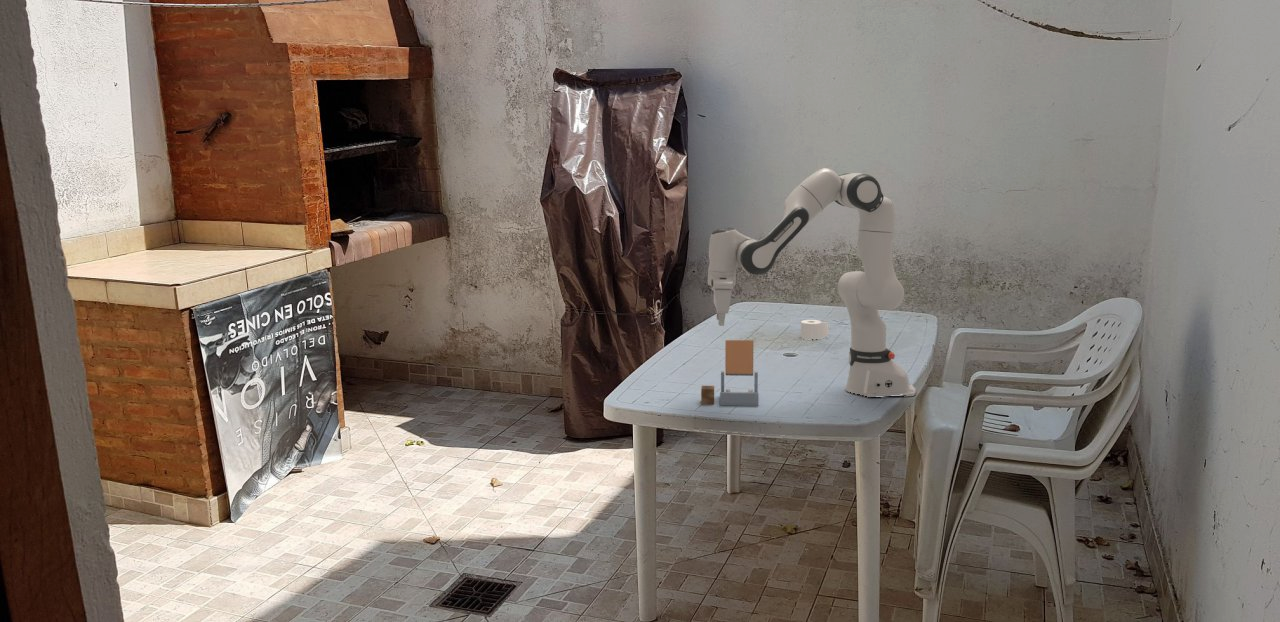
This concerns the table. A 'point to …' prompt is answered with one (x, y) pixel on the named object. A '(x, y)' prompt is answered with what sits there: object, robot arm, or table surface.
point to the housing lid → (739, 357)
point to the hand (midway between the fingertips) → (720, 322)
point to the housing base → (739, 395)
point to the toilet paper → (814, 329)
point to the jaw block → (707, 395)
